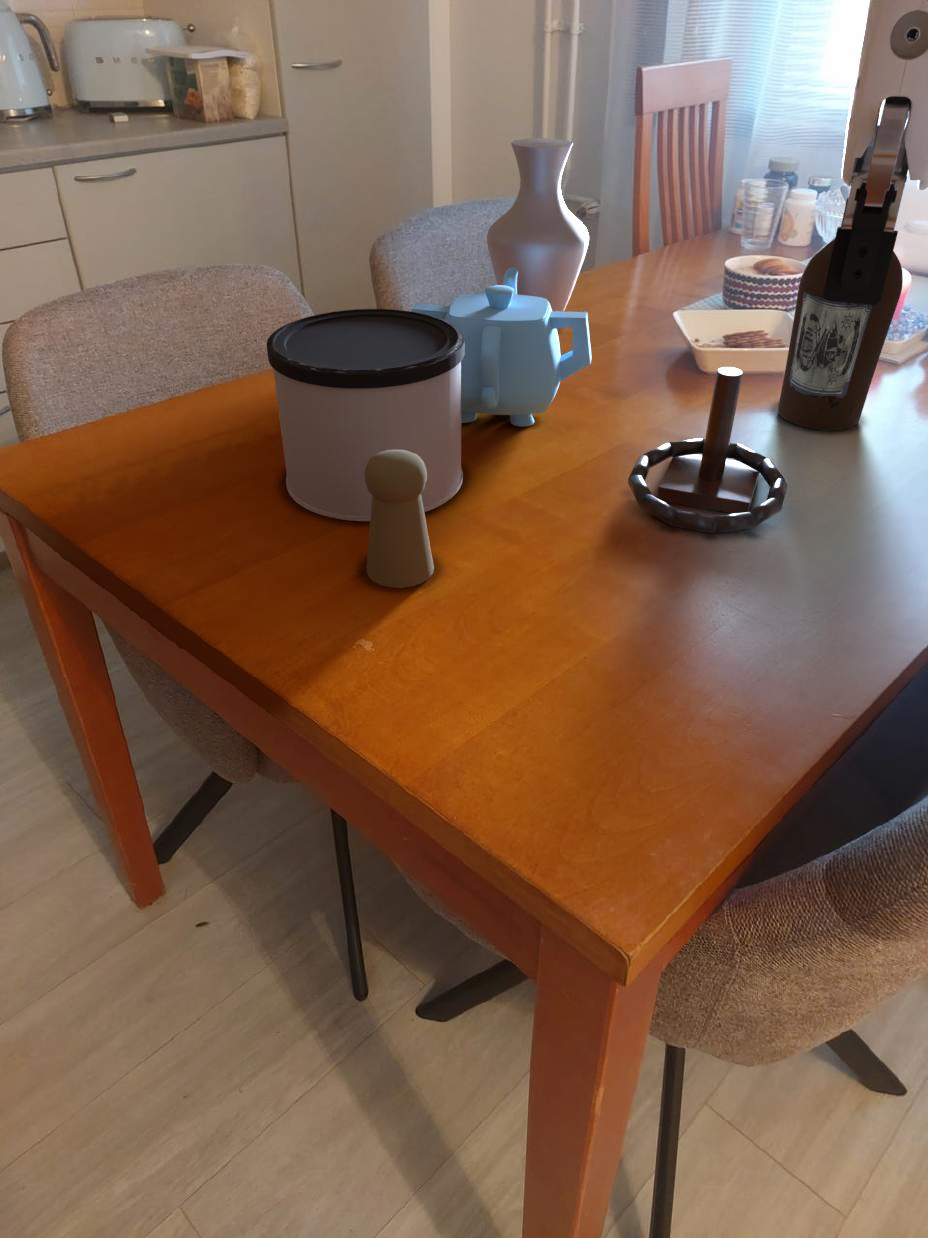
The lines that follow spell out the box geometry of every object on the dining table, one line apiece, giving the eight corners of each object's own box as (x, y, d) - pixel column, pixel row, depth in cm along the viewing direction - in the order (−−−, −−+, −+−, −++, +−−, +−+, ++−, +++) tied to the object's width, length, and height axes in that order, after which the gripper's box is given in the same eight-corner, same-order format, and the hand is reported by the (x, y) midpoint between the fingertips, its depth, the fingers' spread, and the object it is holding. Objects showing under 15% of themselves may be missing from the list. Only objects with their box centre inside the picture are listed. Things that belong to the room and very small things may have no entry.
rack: (758, 477, 94) (783, 362, 87) (747, 516, 88) (773, 394, 80) (673, 463, 97) (691, 350, 90) (656, 499, 90) (673, 380, 83)
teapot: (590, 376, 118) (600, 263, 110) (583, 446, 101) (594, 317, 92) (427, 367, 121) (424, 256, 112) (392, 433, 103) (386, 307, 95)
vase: (469, 321, 137) (470, 137, 122) (551, 309, 142) (562, 131, 127) (513, 350, 126) (519, 153, 111) (600, 336, 131) (617, 145, 116)
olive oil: (790, 392, 114) (838, 176, 99) (875, 411, 109) (940, 187, 94) (758, 419, 107) (806, 191, 92) (848, 441, 102) (913, 204, 87)
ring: (792, 462, 93) (795, 449, 92) (772, 548, 83) (776, 534, 82) (648, 440, 98) (650, 427, 97) (613, 518, 87) (614, 504, 86)
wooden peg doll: (447, 563, 80) (445, 451, 74) (408, 595, 76) (403, 479, 70) (392, 544, 83) (387, 435, 77) (352, 574, 79) (342, 461, 73)
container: (253, 470, 95) (232, 330, 87) (399, 427, 105) (393, 296, 96) (344, 543, 83) (330, 388, 75) (500, 486, 93) (505, 343, 84)
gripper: (1030, -69, 39) (919, 326, 49) (1001, -53, 52) (918, 256, 62) (848, -63, 41) (777, 312, 51) (864, -49, 54) (805, 247, 64)
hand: (854, 281), depth 56 cm, fingers open, 9 cm apart
